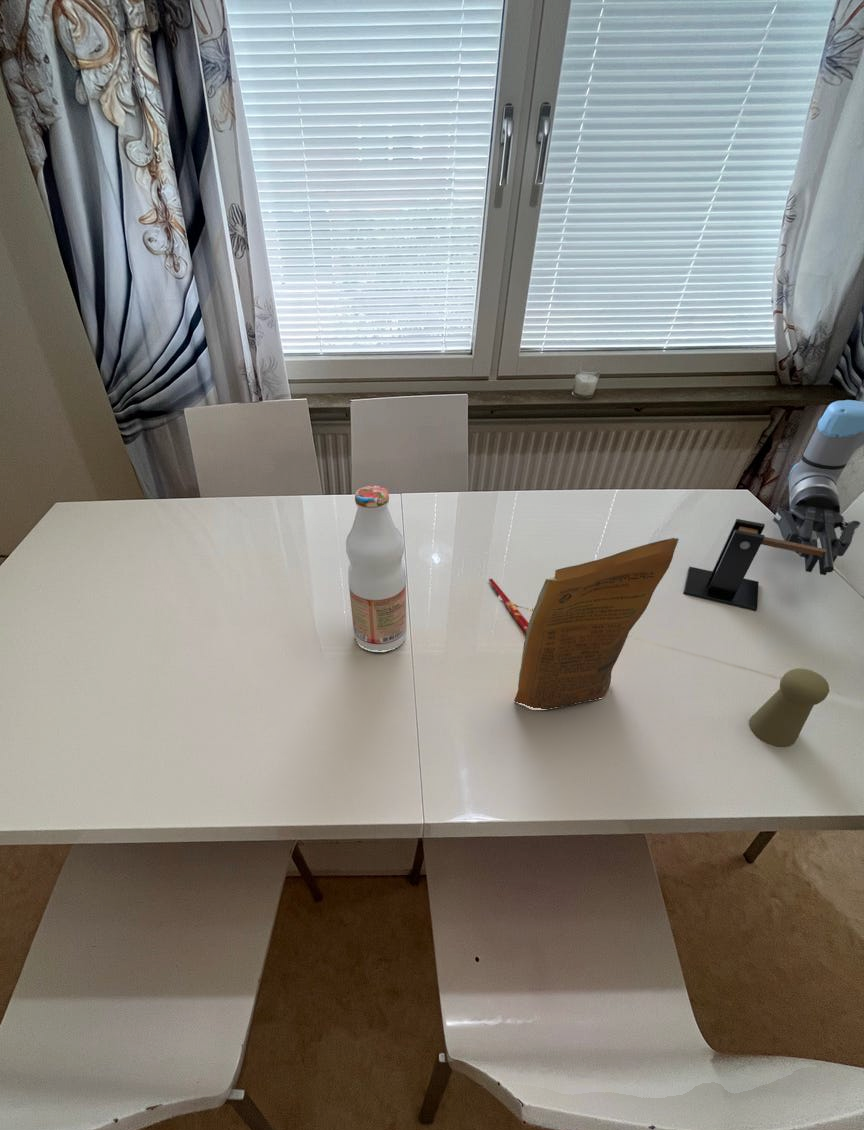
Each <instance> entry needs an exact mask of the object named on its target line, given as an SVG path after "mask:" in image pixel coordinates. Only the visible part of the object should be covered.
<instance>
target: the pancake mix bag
mask: <svg viewBox="0 0 864 1130" xmlns="http://www.w3.org/2000/svg"><path fill="white" fill-rule="evenodd" d="M679 540H680V539H679V538H678V537H677V538H676V537H671V538H667V539H666V538H665V539H662V540H658V541H653V542H649V543H646V544H643V545H640V546H639V545H638V546H636V547H633V548H629V549H626V550H624V551H623V550H622V551H621V552H618V553H615V554H611V555H609V556H606V557H602V558H599V559H595V560H591V561H587V562H583V563H580V564H575V565H571V566H570V565H569V566H566V567H562V568H558V569H555V571H554V577H549V578H546V579H545V581H544V582H543V585H542V588H541V590H540V592H539V594H538V597H537V600H536V604H535V606H534V608H533V609H532V612H531V616H530V617H529V621H528V623H529V624H528V627H527V631H526V634H525V638H524V642H523V648H522V653H521V654H522V655H521V663H520V669H519V673H518V683H517V684H518V685H517V692H516V695H515V697H514V700H513V702H514V701H515V702H518V703H522V704H525V705H527V706H530V707H533V708H541V709H550V708H555V707H560V708H562V707H561V706H565V707H567V706H566V705H570V706H572V705H571V704H574V705H576V704H575V703H579V702H583V703H585V702H584V701H589V700H595V699H599V698H602V697H603V696H604V695H605V694H606V693H607V694H608V692H607V691H609V689H610V686H611V680H612V671H613V669H614V666H615V665H616V662H617V661H618V659H619V657H620V654H621V652H622V650H623V648H624V646H625V644H626V641H627V639H628V635H629V633H630V631H631V630H632V628H633V627H634V626H635V625H636V623H637V622H638V621H639V620H640V619H641V617H642V615H643V614H644V613H645V611H646V610H647V608H648V606H649V604H650V602H651V600H652V597H653V595H654V592H655V590H656V589H657V587H658V586H659V584H660V582H661V581H662V579H663V578H664V576H665V574H666V573H667V571H668V570H669V568H670V566H671V563H672V561H673V558H674V554H675V550H676V548H677V546H678V542H679ZM607 694H606V695H607ZM606 695H605V696H606ZM605 696H604V697H605ZM604 697H603V698H604ZM603 698H602V699H603ZM595 701H596V700H595ZM589 702H590V701H589ZM579 704H580V703H579ZM555 709H556V708H555Z"/></svg>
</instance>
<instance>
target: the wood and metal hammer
mask: <svg viewBox="0 0 864 1130" xmlns="http://www.w3.org/2000/svg"><path fill="white" fill-rule="evenodd" d="M738 530H740V531H745V532H750V533H755V534H758V530H756V529H751V528H746V527H741V526H740V527H739V529H738ZM821 544H822V547H819V546H818V547H813V546H808V545H803V544H798V543H793V542H788V541H784V539H777V538H772V537H769V536H764V540H763V541H762V543H761V545H762V546H767V547H772V548H776V549H782V550H786V551H790V552H791V551H792V552H795V553H796V552H800V553H805V554H810V555H815V556H820V557H823V564H824V571H825V572H827V573H833V571H835V566H834V562H833V558H832V550H831V541H830V537H828V536H824V537H822V538H821V543H820V545H821Z"/></svg>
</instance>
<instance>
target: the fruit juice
mask: <svg viewBox="0 0 864 1130" xmlns="http://www.w3.org/2000/svg"><path fill="white" fill-rule="evenodd" d="M354 501H355V506H356V507H357V509H356V513H355V516H354V520H353V523H352V527H351V530H349V532H348V534H347V536H346V540H345V552H346V556H347V558H348V561H349V565H348V569H347V582H348V589H349V591H348V592H349V601H350V609H351V618H352V629H353V636H354V640H355V639H356V640H355V642H356V641H357V642H358V643H359V644H360V645H361V646H363V647H364V648H367V649H370V650H378V651H382V650H389V649H393V648H396V647H397V646H399V645H401V644H402V645H403V643H404V642H405V640H406V638H407V632H408V631H407V628H408V627H407V626H408V625H407V575H406V567H405V565H404V564H405V563H404V562H403V560H402V558H403V556H404V552H405V541H404V537H403V534H402V532H401V530H400V529H399V528H398V527H397V526H396V524H395V522H394V520H393V517H392V515H391V512H390V509H389V507H388V505H389V503H390V494H389V491H388V489H386V487H383V486H380V485H366V486H363V487H360V488H359V489H357V490H356V491H355V494H354ZM403 641H404V642H403ZM357 642H356V643H357ZM402 642H403V643H402ZM402 645H401V646H402Z"/></svg>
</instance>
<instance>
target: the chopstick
mask: <svg viewBox="0 0 864 1130" xmlns="http://www.w3.org/2000/svg"><path fill="white" fill-rule="evenodd" d="M488 581H489V583H490V584H491V586H492V587H493V589H494V590H495V591H496V593H497V594H498V595H499V596H500V598H501V599H502V602H503V604H505V606H506V607H507V609H508V610H509V612H510V614H511V615H512V616H513V618H514V619H515V620H516V622H517V624H518V625H519V626H520V628H521V630H522V631H523V633H524V634H525V635H526V631H527V627H528V624H529V621H528V620H527V619H526V618H525V617H524V615H523V614H522V613H521V612H520V611H519V609H518V608H517V607H516V606H515V604H513V602H512V601H511V600H510V599H509V597H508V596H507V595H506V593H504V592H503V590H502V589H501V588H500V586H499V585H498V584H497V582H496V581H495V580H494V579H493V578H488Z"/></svg>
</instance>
